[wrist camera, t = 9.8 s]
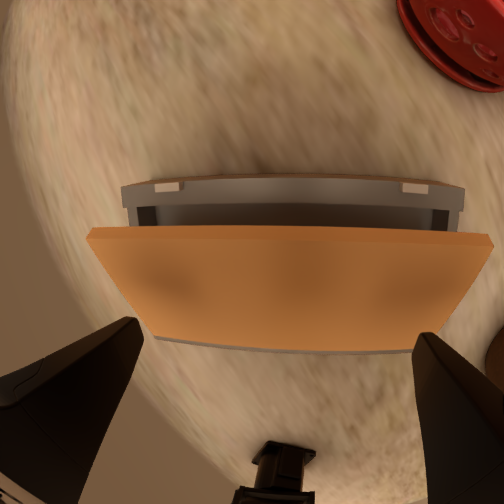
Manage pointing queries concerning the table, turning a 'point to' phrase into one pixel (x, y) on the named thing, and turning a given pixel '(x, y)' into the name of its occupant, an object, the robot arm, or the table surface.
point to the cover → (291, 284)
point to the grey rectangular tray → (295, 201)
